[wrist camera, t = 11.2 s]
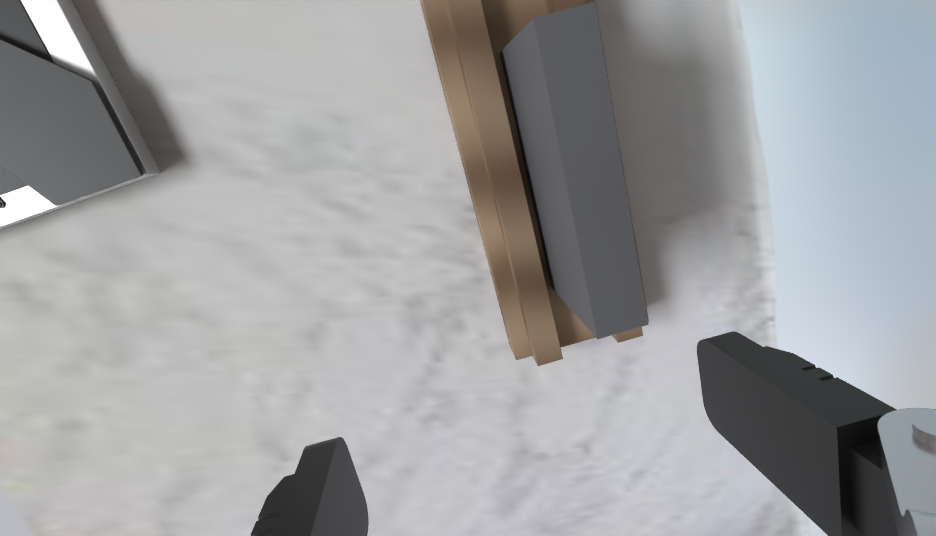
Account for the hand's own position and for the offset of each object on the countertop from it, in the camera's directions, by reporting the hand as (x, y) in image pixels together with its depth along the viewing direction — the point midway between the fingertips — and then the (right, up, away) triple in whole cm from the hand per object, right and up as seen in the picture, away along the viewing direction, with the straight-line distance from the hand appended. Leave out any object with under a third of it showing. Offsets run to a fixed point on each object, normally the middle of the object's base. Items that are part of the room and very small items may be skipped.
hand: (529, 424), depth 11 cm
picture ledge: (+3, +9, +20) cm, 22 cm away
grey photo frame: (+3, +9, +18) cm, 20 cm away
